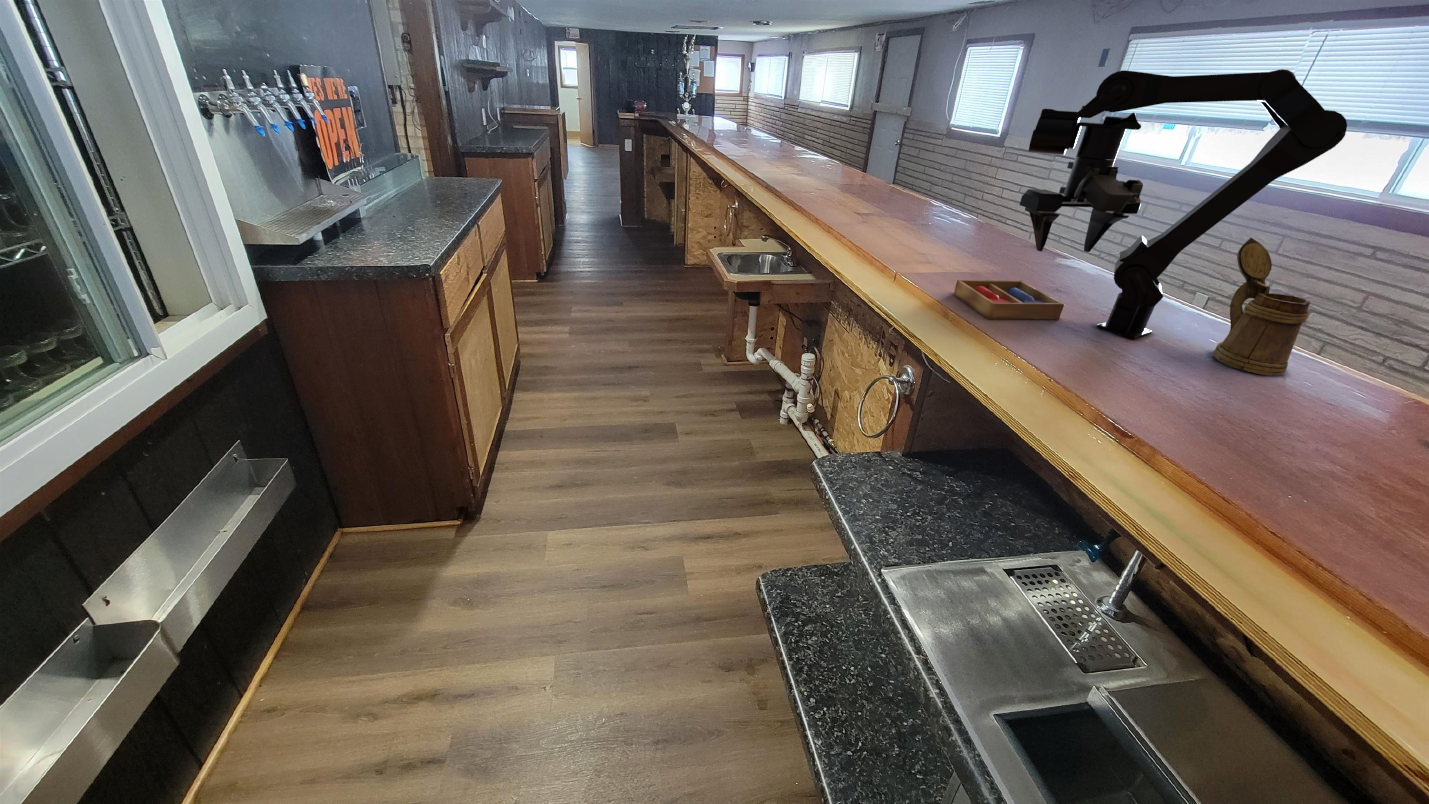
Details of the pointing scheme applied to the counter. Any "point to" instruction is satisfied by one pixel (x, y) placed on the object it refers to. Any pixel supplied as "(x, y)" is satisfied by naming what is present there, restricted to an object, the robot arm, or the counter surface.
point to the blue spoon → (1022, 296)
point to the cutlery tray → (1015, 307)
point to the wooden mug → (1260, 319)
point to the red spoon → (990, 295)
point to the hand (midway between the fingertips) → (1062, 251)
